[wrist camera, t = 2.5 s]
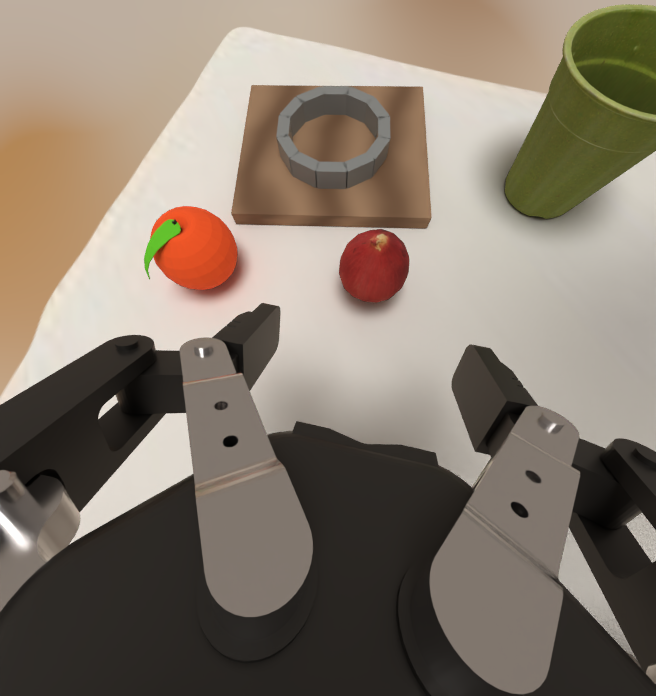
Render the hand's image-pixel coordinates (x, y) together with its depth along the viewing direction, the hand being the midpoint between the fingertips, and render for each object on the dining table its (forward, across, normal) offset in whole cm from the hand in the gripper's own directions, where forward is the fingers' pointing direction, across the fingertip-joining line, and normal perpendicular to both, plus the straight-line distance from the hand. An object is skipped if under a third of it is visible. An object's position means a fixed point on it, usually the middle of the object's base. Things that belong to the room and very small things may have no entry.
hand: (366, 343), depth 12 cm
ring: (+26, +7, -9) cm, 28 cm away
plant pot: (+27, -16, -8) cm, 32 cm away
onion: (+16, 0, +3) cm, 16 cm away
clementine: (+15, +16, +4) cm, 22 cm away
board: (+27, +7, -8) cm, 29 cm away
